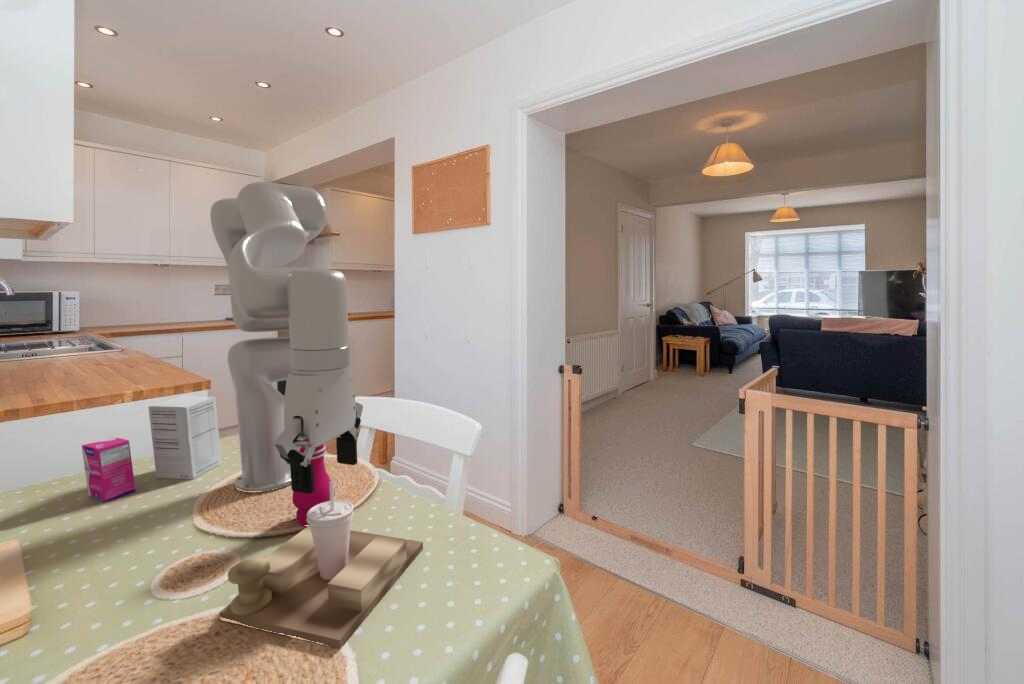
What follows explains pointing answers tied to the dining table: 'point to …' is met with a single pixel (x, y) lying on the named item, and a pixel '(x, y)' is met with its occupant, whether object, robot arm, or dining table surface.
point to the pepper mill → (320, 482)
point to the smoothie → (331, 534)
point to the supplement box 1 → (108, 468)
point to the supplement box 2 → (185, 437)
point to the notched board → (317, 587)
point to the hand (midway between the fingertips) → (326, 476)
